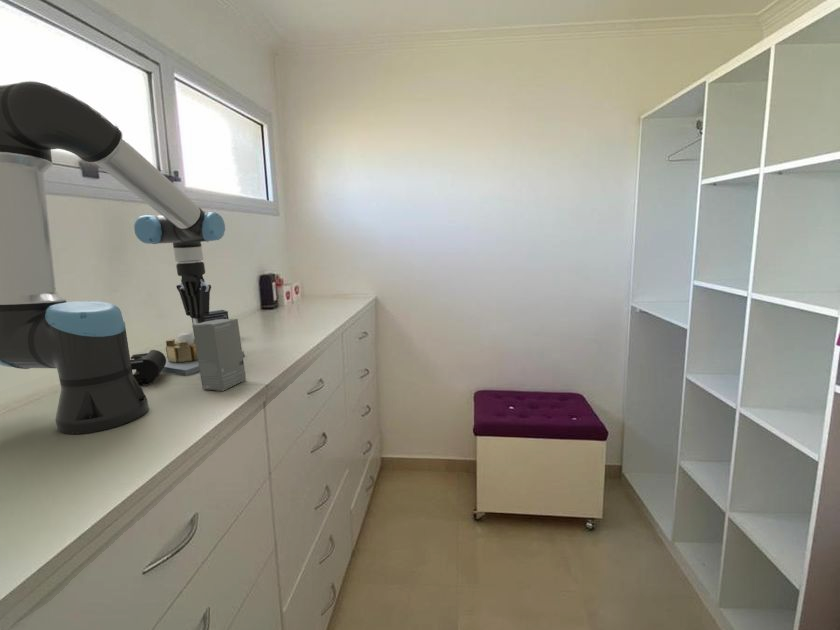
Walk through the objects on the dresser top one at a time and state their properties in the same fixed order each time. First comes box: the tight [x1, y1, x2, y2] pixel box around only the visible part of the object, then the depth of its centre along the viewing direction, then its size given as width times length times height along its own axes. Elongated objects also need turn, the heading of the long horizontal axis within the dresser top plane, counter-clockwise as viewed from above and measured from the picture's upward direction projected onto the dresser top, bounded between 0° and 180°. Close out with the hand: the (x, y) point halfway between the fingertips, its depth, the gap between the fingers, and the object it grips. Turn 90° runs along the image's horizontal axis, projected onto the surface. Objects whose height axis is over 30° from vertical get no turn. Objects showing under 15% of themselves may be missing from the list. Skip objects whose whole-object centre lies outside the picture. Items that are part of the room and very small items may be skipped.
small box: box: [191, 309, 230, 325], centre depth 150 cm, size 11×6×10 cm, turn 130°
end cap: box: [130, 349, 166, 387], centre depth 112 cm, size 10×7×7 cm
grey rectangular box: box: [191, 318, 247, 392], centre depth 104 cm, size 8×7×16 cm
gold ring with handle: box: [165, 339, 198, 362], centre depth 128 cm, size 16×10×5 cm, turn 153°
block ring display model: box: [160, 332, 245, 377], centre depth 126 cm, size 19×18×8 cm
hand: (201, 338), depth 136 cm, fingers closed
